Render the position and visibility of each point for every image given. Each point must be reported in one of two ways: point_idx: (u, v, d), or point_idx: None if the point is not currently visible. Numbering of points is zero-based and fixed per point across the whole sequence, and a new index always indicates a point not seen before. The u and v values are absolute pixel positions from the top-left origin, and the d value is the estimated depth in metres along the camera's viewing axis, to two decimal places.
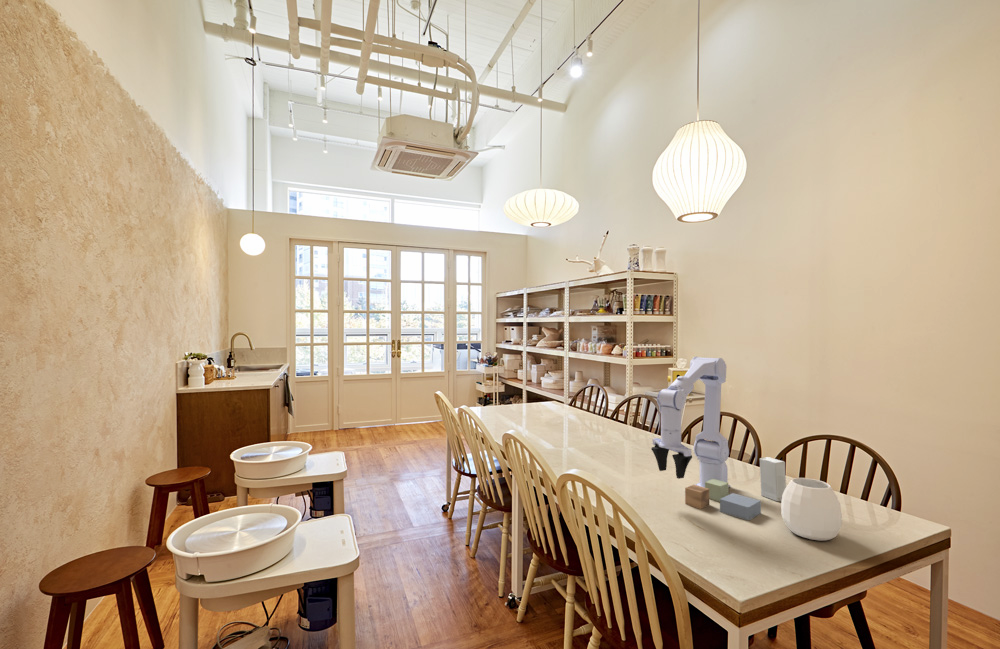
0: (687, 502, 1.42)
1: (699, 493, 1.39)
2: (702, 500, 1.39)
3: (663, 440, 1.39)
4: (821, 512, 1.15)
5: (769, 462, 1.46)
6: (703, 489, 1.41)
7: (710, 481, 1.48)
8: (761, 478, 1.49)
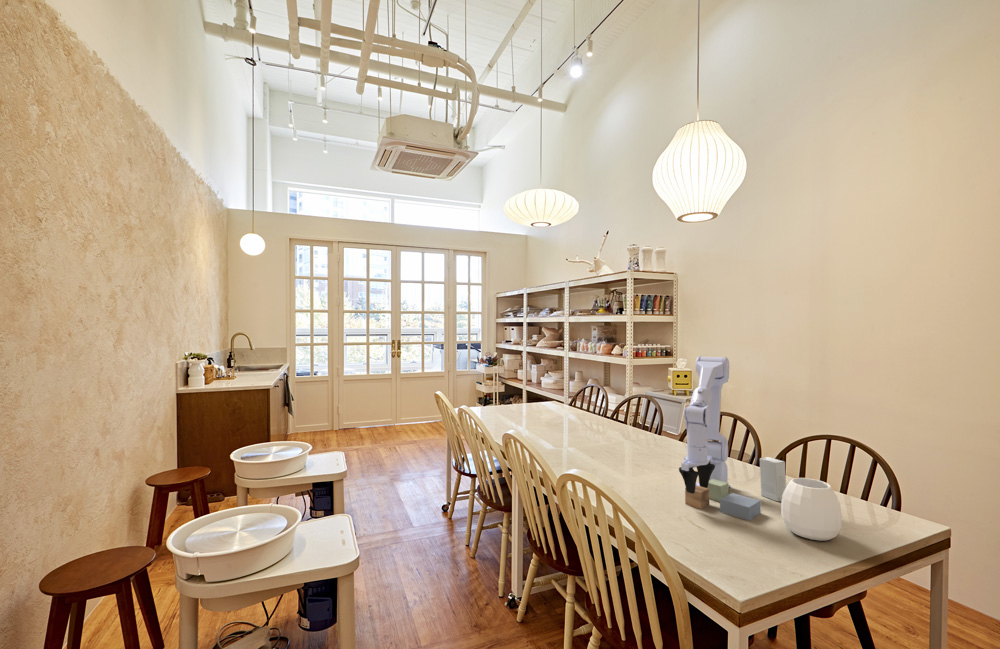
0: (687, 502, 1.42)
1: (699, 493, 1.39)
2: (702, 500, 1.39)
3: None
4: (821, 512, 1.15)
5: (769, 462, 1.46)
6: (703, 489, 1.41)
7: (710, 481, 1.48)
8: (761, 478, 1.49)
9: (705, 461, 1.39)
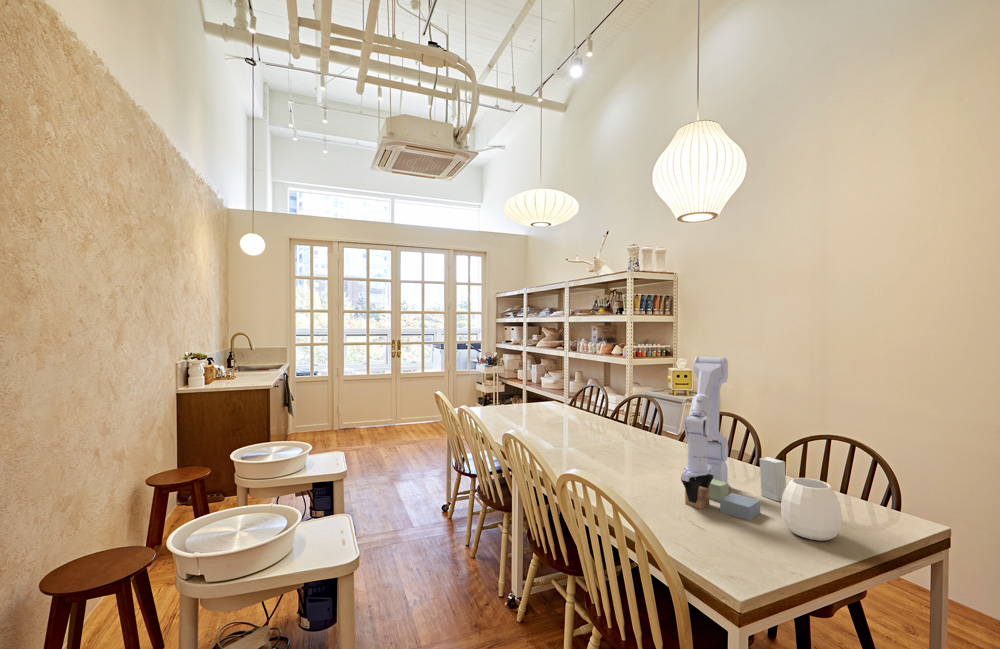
0: (687, 502, 1.42)
1: (699, 493, 1.39)
2: (702, 499, 1.39)
3: None
4: (821, 512, 1.15)
5: (769, 462, 1.46)
6: (703, 489, 1.41)
7: None
8: (761, 478, 1.49)
9: (705, 471, 1.39)
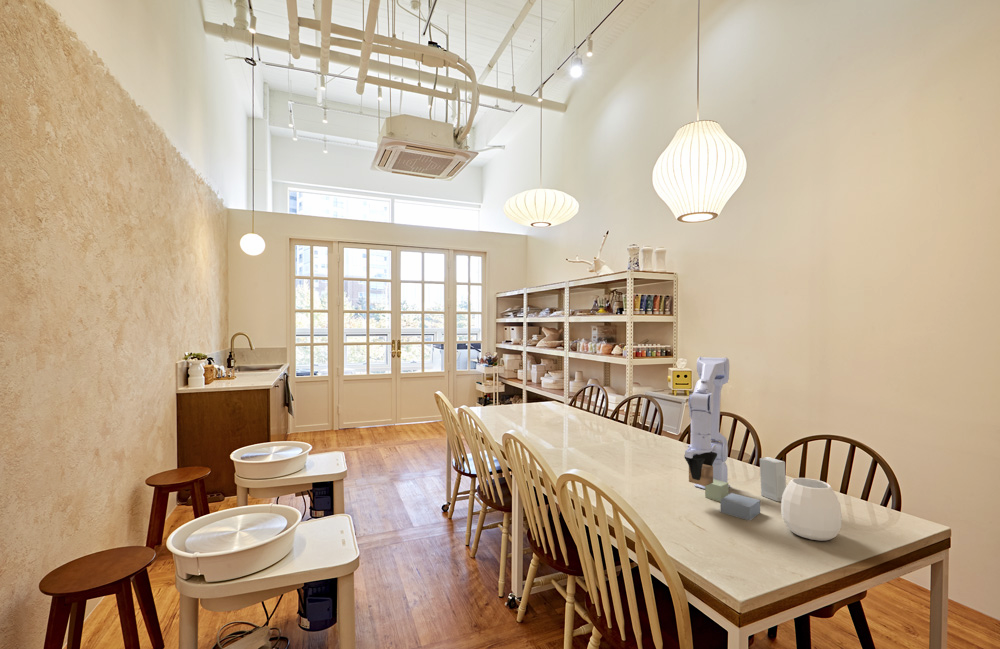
0: (691, 479, 1.41)
1: (703, 470, 1.38)
2: (705, 477, 1.38)
3: None
4: (821, 512, 1.15)
5: (769, 462, 1.46)
6: (707, 466, 1.40)
7: None
8: (761, 478, 1.49)
9: (709, 448, 1.39)
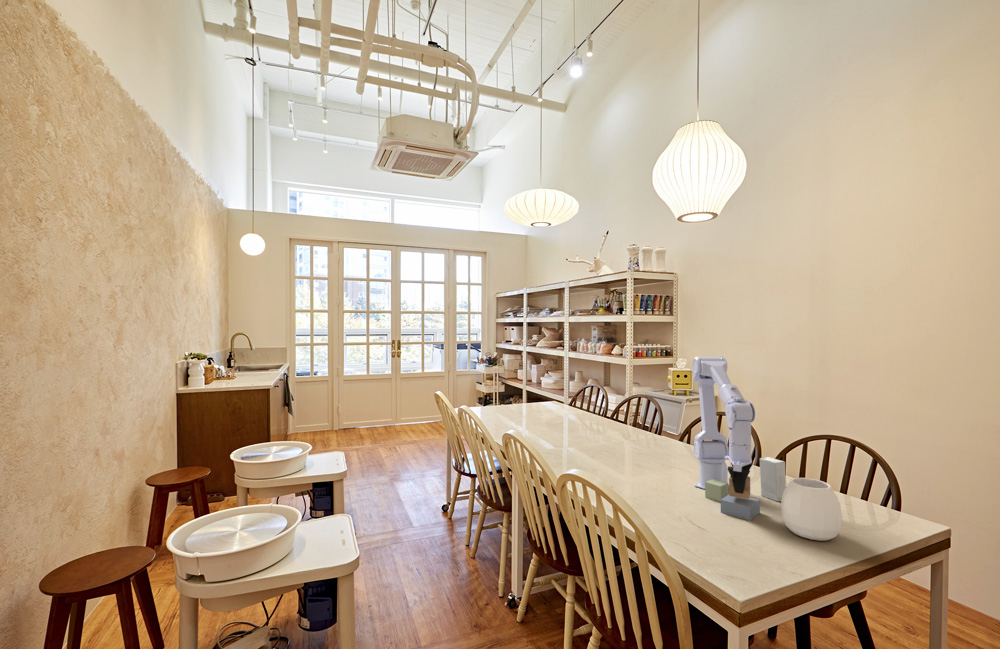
0: (732, 493, 1.35)
1: (746, 482, 1.32)
2: (748, 489, 1.33)
3: (729, 452, 1.37)
4: (821, 512, 1.15)
5: (769, 462, 1.46)
6: (747, 478, 1.35)
7: (710, 481, 1.48)
8: (761, 478, 1.49)
9: (751, 459, 1.34)
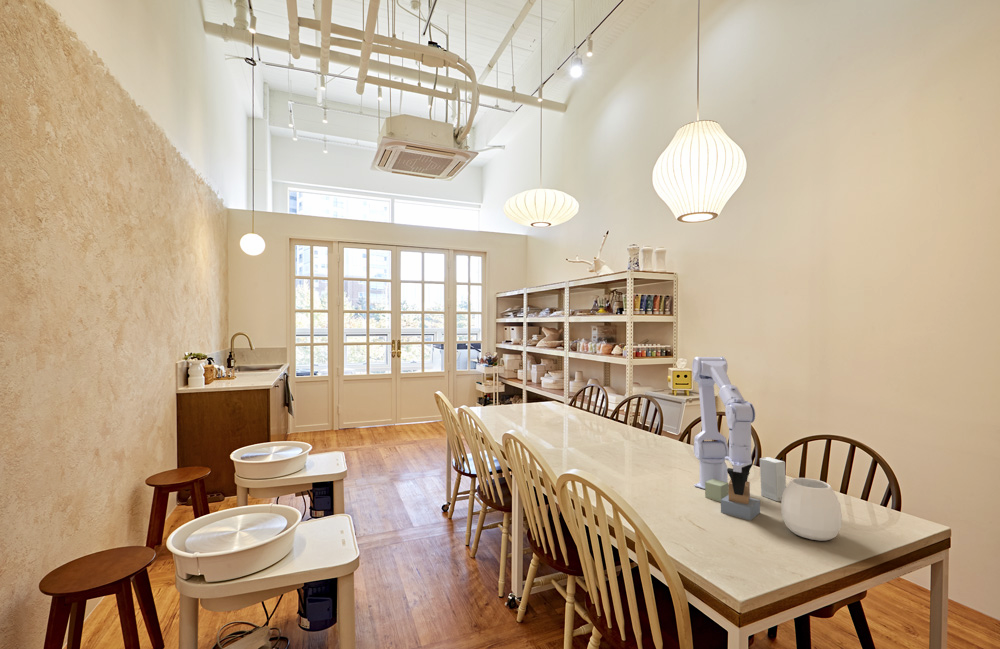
0: (731, 498, 1.35)
1: (746, 487, 1.33)
2: (748, 494, 1.33)
3: (729, 453, 1.37)
4: (821, 512, 1.15)
5: (769, 462, 1.46)
6: (746, 483, 1.35)
7: (710, 481, 1.48)
8: (761, 478, 1.49)
9: (751, 460, 1.34)
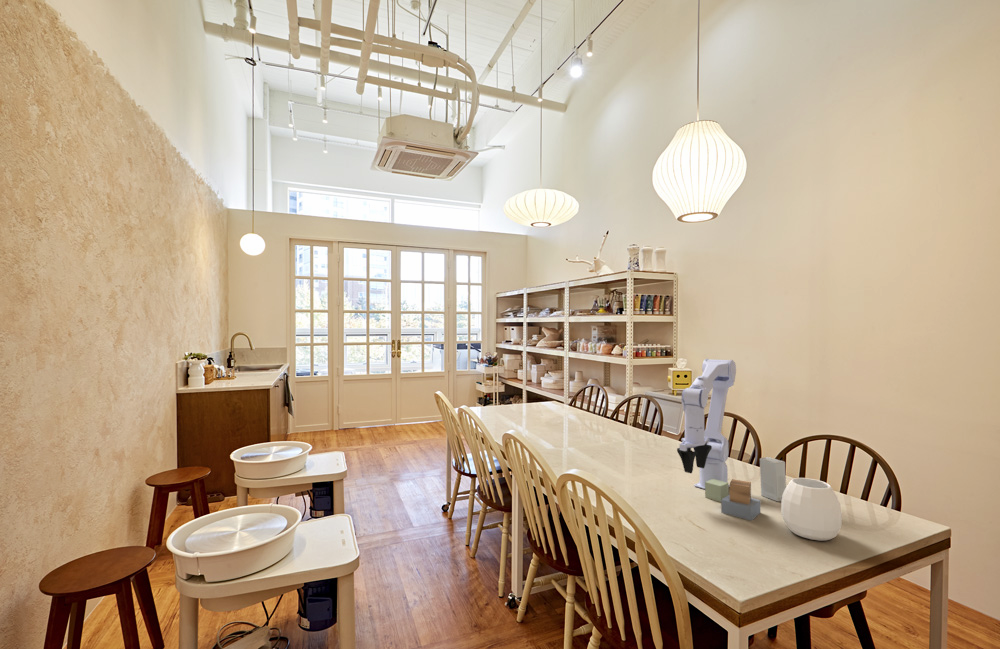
0: (732, 498, 1.34)
1: (747, 488, 1.32)
2: (749, 494, 1.33)
3: None
4: (821, 512, 1.15)
5: (769, 462, 1.46)
6: (747, 483, 1.35)
7: (710, 481, 1.48)
8: (761, 478, 1.49)
9: (702, 442, 1.43)
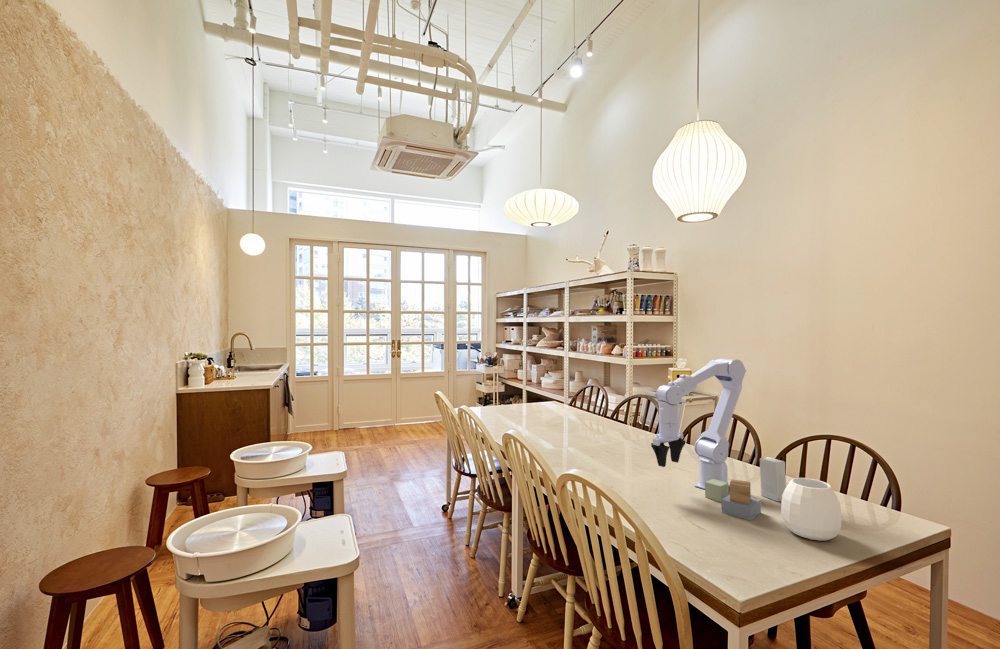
0: (732, 498, 1.34)
1: (747, 488, 1.32)
2: (749, 494, 1.33)
3: None
4: (821, 512, 1.15)
5: (769, 462, 1.46)
6: (747, 483, 1.35)
7: (710, 481, 1.48)
8: (761, 478, 1.49)
9: (675, 437, 1.49)
